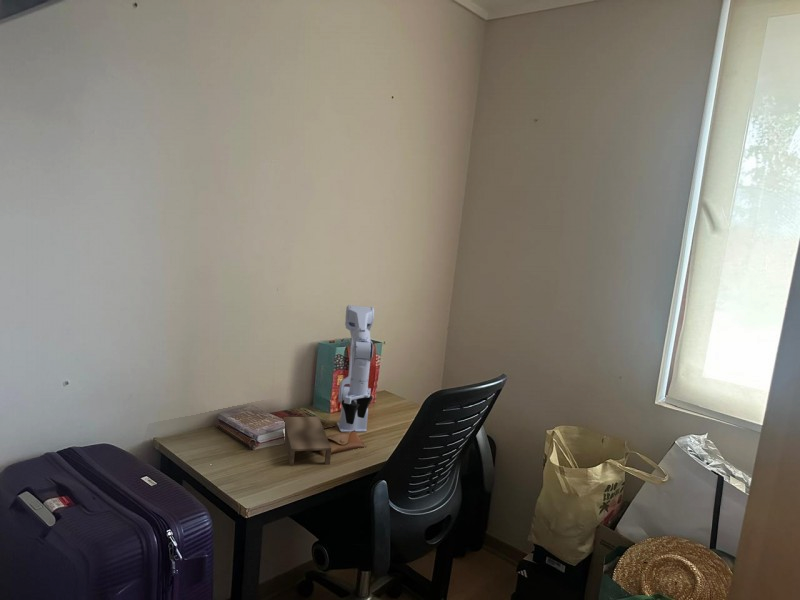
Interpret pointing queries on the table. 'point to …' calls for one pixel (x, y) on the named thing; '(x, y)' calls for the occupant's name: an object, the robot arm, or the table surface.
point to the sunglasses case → (343, 443)
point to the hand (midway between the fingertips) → (355, 420)
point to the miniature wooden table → (305, 436)
